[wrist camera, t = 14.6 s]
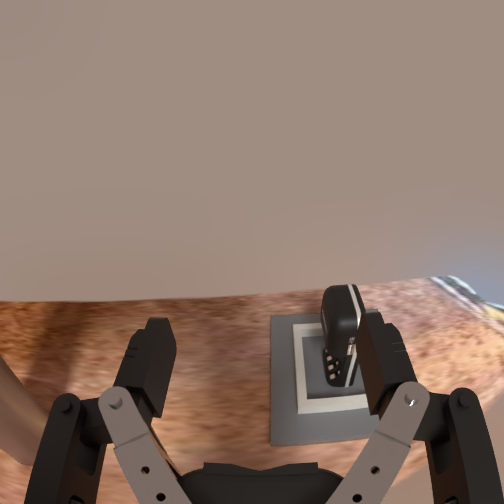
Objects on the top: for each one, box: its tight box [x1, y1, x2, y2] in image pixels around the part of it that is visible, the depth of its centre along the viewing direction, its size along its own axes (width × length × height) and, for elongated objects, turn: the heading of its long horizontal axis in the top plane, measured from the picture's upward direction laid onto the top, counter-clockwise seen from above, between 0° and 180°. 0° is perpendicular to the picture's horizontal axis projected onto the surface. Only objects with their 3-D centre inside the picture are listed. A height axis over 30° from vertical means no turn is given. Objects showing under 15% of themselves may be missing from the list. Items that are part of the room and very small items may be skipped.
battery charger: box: [320, 284, 366, 387], centre depth 34 cm, size 7×4×11 cm, turn 178°
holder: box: [270, 309, 380, 446], centre depth 37 cm, size 16×20×3 cm
